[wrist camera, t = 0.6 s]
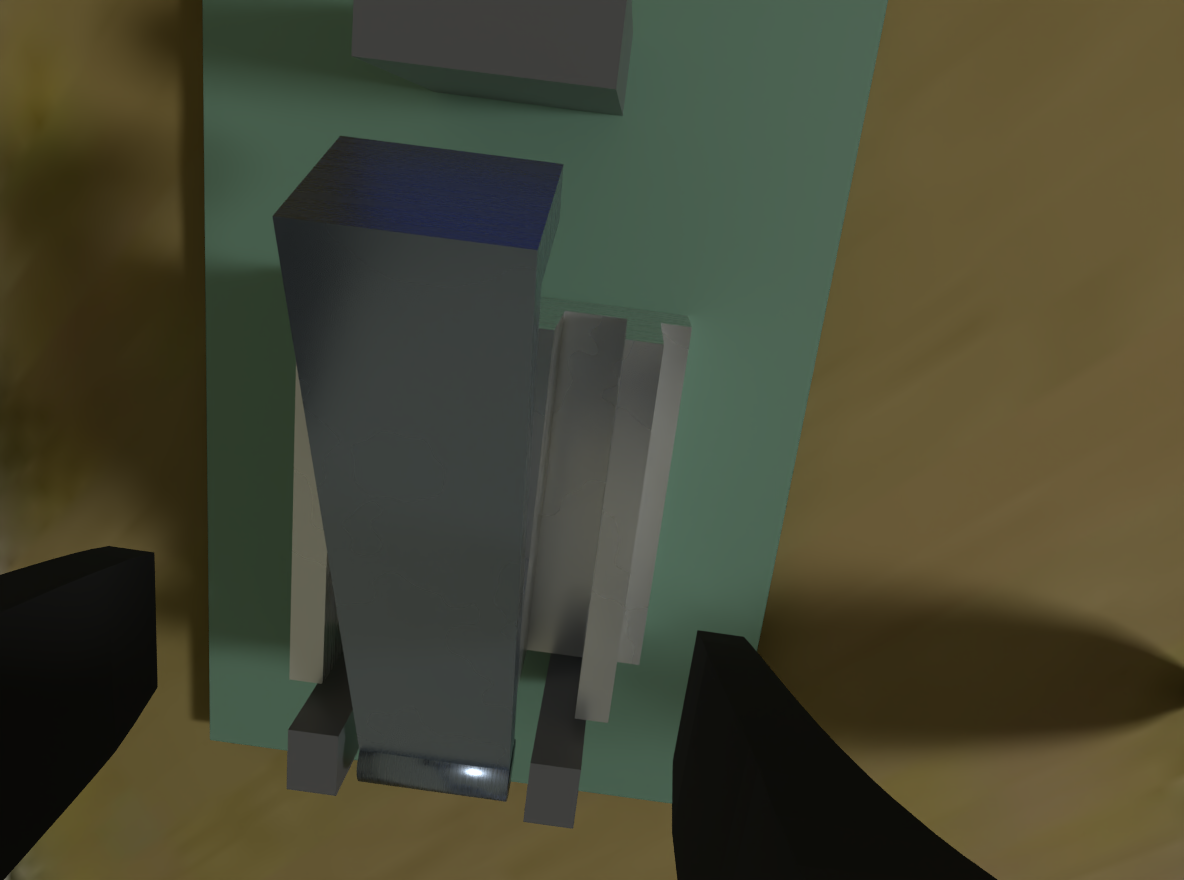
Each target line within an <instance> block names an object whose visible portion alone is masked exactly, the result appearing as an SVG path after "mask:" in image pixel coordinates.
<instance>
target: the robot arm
mask: <svg viewBox="0 0 1184 880" xmlns="http://www.w3.org/2000/svg"><path fill="white" fill-rule="evenodd" d="M156 689H157V645H156V604H155V563H154V553H153V552H146V551H139V550H132V549H125V548H118V547H111V546H107V547H101V548H96V549H90V550H86V551H82V552H78V553H74V554H70V555H66V556H62V557H59V558H55V559H52V560H48V561H45V562H41V563H38V564H35V565H31V566H28V567H25V568H21V569H18V570H15V571H12V572H8V573H5V574H2V575H0V880H4V879H5V878H6V877H7V875H8V874H9V873H10V872H11V871H12V870H13V869H14V867H15V866H16V865H17V864H18V863H19V862H20V861H21V860H22V858H23V857H24V856H25V855H26V854H27V853H28V852H29V850H30V849H31V848H32V847H33V846H34V845H35V844H36V843H37V841H38V840H39V839H40V838H41V837H42V836H43V835H44V833H45V832H46V831H47V830H48V829H49V828H50V827H51V826H52V824H53V823H54V822H55V821H56V820H57V819H58V818H59V816H60V815H61V814H62V813H63V812H64V811H65V810H66V809H67V807H68V806H69V805H70V804H71V803H72V802H73V801H74V799H75V798H76V797H77V796H78V795H79V794H80V792H81V791H82V790H83V789H84V788H85V787H86V785H87V784H88V783H89V782H90V781H91V780H92V779H93V777H94V776H95V775H96V774H97V773H98V772H99V770H100V769H101V768H102V767H103V766H104V765H105V763H106V762H107V761H108V760H109V759H110V757H111V756H112V755H113V754H114V753H115V751H116V750H117V748H118V747H119V745H120V744H121V743H122V741H123V740H124V738H125V737H126V735H127V734H128V732H129V731H130V729H131V728H132V727H133V725H134V724H135V722H136V720H137V719H138V717H139V716H140V714H141V713H142V711H143V709H144V708H145V706H146V705H147V703H148V701H149V700H150V698H151V697H152V695H153V693H154V692H155V690H156ZM672 835H673V844H674V853H675V862H676V871H677V879H678V880H997V879H996V878H994V877H993V876H992V875H990V874H989V873H987V872H986V871H985V870H983V869H982V868H980V867H979V866H977V865H976V864H975V863H973V862H972V861H970V860H969V859H968V858H966V857H965V856H963V855H962V854H961V853H959V852H958V851H957V850H956V849H954V848H953V847H952V846H950V845H949V844H948V843H946V842H945V841H944V840H943V839H941V838H940V837H939V836H937V835H936V834H935V833H934V832H932V831H931V830H930V829H929V828H928V827H926V826H925V825H924V824H923V823H922V822H921V821H919V820H918V819H917V818H916V817H915V816H913V815H912V814H911V813H910V812H909V811H907V810H906V809H905V808H904V807H903V806H901V805H900V804H899V803H898V802H897V801H896V800H894V799H893V798H892V797H891V796H890V795H889V794H888V793H886V792H885V791H884V790H883V789H882V788H881V787H880V786H879V785H878V784H877V783H876V782H874V781H873V780H872V779H871V778H870V777H869V776H868V775H867V774H866V773H865V772H864V771H863V770H862V769H861V768H860V767H859V766H858V765H857V764H856V763H855V762H854V761H853V760H852V759H851V758H850V757H849V756H848V755H847V754H846V753H845V752H844V751H843V750H842V749H841V748H840V747H839V746H838V745H837V744H836V743H835V742H834V741H833V740H832V739H831V738H830V736H829V735H828V734H827V733H826V732H825V731H824V730H823V729H822V728H821V727H820V726H819V725H818V724H817V722H816V721H815V720H814V719H813V718H812V717H811V716H810V715H809V713H808V712H807V711H806V710H805V709H804V708H803V707H802V705H801V704H800V703H799V702H798V701H797V700H796V699H795V697H794V696H793V695H792V694H791V693H790V691H789V690H788V689H787V688H786V687H785V685H784V684H783V683H782V682H781V681H780V679H779V678H778V677H777V676H776V675H775V673H774V672H773V671H772V670H771V668H770V667H769V666H768V665H767V664H766V662H765V661H764V660H763V659H762V657H761V656H760V655H759V654H758V653H757V651H756V650H755V649H754V648H753V646H752V645H751V644H750V643H749V642H748V641H747V640H746V638H745V637H742V636H735V635H728V634H721V633H714V632H707V631H700V630H697V635H696V641H695V646H694V651H693V656H692V662H691V667H690V672H689V677H688V683H687V688H686V693H685V699H684V704H683V709H682V714H681V720H680V725H679V730H678V735H677V741H676V746H675V751H674V757H673V769H672Z"/></svg>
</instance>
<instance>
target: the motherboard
mask: <svg viewBox="0 0 1184 880" xmlns="http://www.w3.org/2000/svg"><path fill="white" fill-rule="evenodd" d="M887 2H888V0H632V20H633V38H632V46H631V54H630V62H629V70H628V79H627V87H626V95H625V103H624V111H623V116H620V115H612V114H605V113H597V112H589V111H581V110H573V109H565V108H557V107H549V106H541V105H533V104H525V103H517V102H509V101H502V100H494V99H486V98H478V97H470V96H462V95H454V94H446V93H438V92H434V91H432V90H429V89H427V88H425V87H422V86H420V85H418V84H415V83H413V82H411V81H408V80H406V79H404V78H401V77H399V76H397V75H394V74H392V73H390V72H387V71H385V70H383V69H380V68H378V67H376V66H373V65H371V64H369V63H366V62H364V61H362V60H359V59H357V58H355V57H352V56H351V54H352V27H353V0H203V96H204V193H205V291H206V389H207V487H208V584H209V682H210V740H215V741H222V742H230V743H237V744H244V745H251V746H259V747H266V748H273V749H280V750H288V729H289V727H290V726H291V724H292V723H293V721H294V720H295V718H296V716H297V715H298V713H299V712H300V710H301V709H302V707H303V705H304V704H305V702H306V701H307V699H308V698H309V696H310V694H311V693H312V691H313V690H314V688H315V687H316V685H317V683H312V682H304V681H297V680H290V679H289V673H290V625H291V577H292V530H293V482H294V434H295V387H296V358H295V352H294V346H293V340H292V334H291V328H290V322H289V315H288V309H287V303H286V297H285V291H284V285H283V279H282V273H281V266H280V260H279V254H278V248H277V242H276V236H275V230H274V223H273V217H272V216H273V215H274V214H275V212H276V211H277V210H278V209H279V208H280V206H281V205H282V204H283V203H284V202H285V200H286V199H287V198H288V197H289V196H290V195H291V193H292V192H293V191H294V190H295V189H296V187H297V186H298V185H299V184H300V183H301V182H302V180H303V179H304V178H305V177H306V176H307V174H308V173H309V172H310V171H311V170H312V169H313V167H314V166H315V165H316V164H317V163H318V161H319V160H320V159H321V158H322V157H323V156H324V154H325V153H326V152H327V151H328V150H329V148H330V147H331V146H332V145H333V144H334V143H335V141H336V140H337V139H338V138H339V137H340V136H347V137H355V138H363V139H371V140H378V141H386V142H394V143H402V144H410V145H418V146H426V147H434V148H441V149H449V150H457V151H465V152H473V153H481V154H489V155H496V156H504V157H512V158H520V159H528V160H536V161H544V162H551V163H559V164H564V166H563V180H562V194H561V208H560V220H559V224H558V228H557V231H556V235H555V238H554V242H553V246H552V249H551V253H550V256H549V260H548V264H547V267H546V271H545V274H544V278H543V282H542V285H541V297H548V298H555V299H563V300H571V301H579V302H586V303H594V304H602V305H609V306H617V307H625V308H633V309H640V310H648V311H656V312H664V313H671V314H679V315H687V316H688V317H689V320H690V323H691V326H692V331H691V337H690V344H689V350H688V357H687V363H686V369H685V376H684V382H683V388H682V395H681V401H680V408H679V414H678V420H677V427H676V433H675V440H674V446H673V452H672V459H671V465H670V471H669V478H668V484H667V491H666V497H665V503H664V510H663V516H662V522H661V529H660V535H659V542H658V548H657V554H656V561H655V567H654V574H653V580H652V586H651V593H650V599H649V605H648V612H647V618H646V625H645V631H644V637H643V644H642V650H641V656H640V663H639V665H635V664H628V663H621V662H617V666H616V673H615V679H614V686H613V693H612V700H611V706H610V713H609V720H608V723H604V722H597V721H590V720H586V726H585V736H584V746H583V756H582V766H581V775H580V782H579V789H578V791H585V792H592V793H599V794H607V795H614V796H621V797H628V798H636V799H643V800H650V801H657V802H665V803H672V769H673V757H674V751H675V746H676V741H677V735H678V730H679V725H680V720H681V714H682V709H683V704H684V699H685V693H686V688H687V683H688V677H689V672H690V667H691V662H692V656H693V651H694V646H695V641H696V635H697V630H700V631H707V632H714V633H721V634H728V635H735V636H742V637H745V638H746V640H747V641H748V642H749V643H750V644H751V645H752V646H753V648H754V649H755V650H756V651H757V648H758V643H759V638H760V633H761V628H762V623H763V618H764V613H765V608H766V603H767V598H768V593H769V589H770V584H771V579H772V574H773V569H774V564H775V559H776V554H777V549H778V544H779V539H780V534H781V529H782V524H783V519H784V514H785V509H786V504H787V499H788V494H789V489H790V484H791V479H792V474H793V469H794V464H795V459H796V454H797V449H798V444H799V440H800V435H801V430H802V425H803V420H804V415H805V410H806V405H807V400H808V395H809V390H810V385H811V380H812V375H813V370H814V365H815V360H816V355H817V350H818V345H819V340H820V335H821V330H822V325H823V320H824V315H825V310H826V305H827V300H828V295H829V291H830V286H831V281H832V276H833V271H834V266H835V261H836V256H837V251H838V246H839V241H840V236H841V231H842V226H843V221H844V216H845V211H846V206H847V201H848V196H849V191H850V186H851V181H852V176H853V171H854V166H855V161H856V156H857V151H858V146H859V142H860V137H861V132H862V127H863V122H864V117H865V112H866V107H867V102H868V97H869V92H870V87H871V82H872V77H873V72H874V67H875V62H876V57H877V52H878V47H879V42H880V37H881V32H882V27H883V22H884V17H885V12H886V7H887ZM550 655H551V653H547V652H540V651H532V650H527V652H526V656H525V660H524V664H523V668H522V672H521V677H520V681H519V685H518V689H517V705H516V721H515V738H514V739H516V747H515V756H514V763H513V770H512V777H511V781H512V782H520V783H527V784H528V779H529V770H530V762H531V757H532V752H533V746H534V741H535V736H536V730H537V725H538V719H539V714H540V709H541V703H542V698H543V693H544V687H545V682H546V677H547V671H548V666H549V660H550ZM358 756H359V750H358V752H357V754H356V756H355V758H354V760H358Z"/></svg>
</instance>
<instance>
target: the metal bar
mask: <svg viewBox="0 0 1184 880" xmlns="http://www.w3.org/2000/svg"><path fill="white" fill-rule="evenodd" d="M563 166H564V164H559V163H551V162H544V161H536V160H528V159H520V158H512V157H504V156H496V155H489V154H481V153H473V152H465V151H457V150H449V149H441V148H434V147H426V146H418V145H410V144H402V143H394V142H386V141H378V140H371V139H363V138H355V137H347V136H340V137H339V138H338V139H337V140H336V141H335V143H334V144H333V145H332V146H331V147H330V148H329V150H328V151H327V152H326V153H325V154H324V156H323V157H322V158H321V159H320V160H319V161H318V163H317V164H316V165H315V166H314V167H313V169H312V170H311V171H310V172H309V173H308V174H307V176H306V177H305V178H304V179H303V180H302V182H301V183H300V184H299V185H298V186H297V187H296V189H295V190H294V191H293V192H292V193H291V195H290V196H289V197H288V198H287V199H286V200H285V202H284V203H283V204H282V205H281V206H280V208H279V209H278V210H277V211H276V212H275V214H274V215H273V216H272V217H273V223H274V230H275V236H276V242H277V248H278V254H279V260H280V266H281V273H282V279H283V285H284V291H285V297H286V303H287V309H288V315H289V322H290V328H291V334H292V340H293V346H294V352H295V358H296V364H297V371H298V377H299V383H300V389H301V395H302V401H303V407H304V413H305V420H306V426H307V432H308V438H309V444H310V450H311V456H312V462H313V469H314V475H315V481H316V487H317V493H318V499H319V505H320V511H321V518H322V524H323V530H324V536H325V542H326V548H327V554H328V560H329V567H330V573H331V579H332V585H333V591H334V597H335V603H336V609H337V616H338V622H339V628H340V634H341V640H342V646H343V652H344V658H345V665H346V671H347V677H348V683H349V689H350V695H351V701H352V708H353V714H354V720H355V726H356V732H357V738H358V744H359V756H358V762H357V779H358V781H361V782H368V783H375V784H382V785H390V786H397V787H404V788H411V789H419V790H426V791H433V792H440V793H448V794H455V795H462V796H469V797H477V798H484V799H491V800H498V801H505V802H506V801H507V798H508V793H509V788H510V783H511V777H512V770H513V763H514V756H515V747H516V739H514V738H515V721H516V705H517V688H518V671H519V654H520V637H521V621H522V604H523V587H524V570H525V553H526V537H527V520H528V503H529V486H530V469H531V453H532V436H533V419H534V402H535V385H536V369H537V352H538V335H539V318H540V301H541V285H542V282H543V278H544V274H545V271H546V267H547V264H548V260H549V256H550V253H551V249H552V246H553V242H554V238H555V235H556V231H557V228H558V224H559V220H560V208H561V194H562V180H563Z"/></svg>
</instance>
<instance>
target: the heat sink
mask: <svg viewBox="0 0 1184 880" xmlns="http://www.w3.org/2000/svg"><path fill="white" fill-rule="evenodd" d="M691 331H692V326H691V323H690V320H689V317H688V316H687V315H679V314H671V313H664V312H656V311H648V310H640V309H633V308H625V307H617V306H609V305H602V304H594V303H586V302H579V301H571V300H563V299H555V298H548V297H541V301H540V318H539V335H538V352H537V369H536V385H535V402H534V419H533V436H532V453H531V469H530V486H529V503H528V520H527V537H526V553H525V570H524V587H523V604H522V621H521V637H520V654H519V671H518V685H519V681H520V677H521V672H522V668H523V664H524V660H525V656H526V652H527V650H532V651H540V652H547V653H554V654H562V655H569V656H576V657H582V661H581V669H580V677H579V686H578V694H577V703H576V711H575V719H582V720H590V721H597V722H604V723H608V720H609V713H610V706H611V700H612V693H613V686H614V679H615V673H616V666H617V662H621V663H628V664H635V665H639V663H640V656H641V650H642V644H643V637H644V631H645V625H646V618H647V612H648V605H649V599H650V593H651V586H652V580H653V574H654V567H655V561H656V554H657V548H658V542H659V535H660V529H661V522H662V516H663V510H664V503H665V497H666V491H667V484H668V478H669V471H670V465H671V459H672V452H673V446H674V440H675V433H676V427H677V420H678V414H679V408H680V401H681V395H682V388H683V382H684V376H685V369H686V363H687V357H688V350H689V344H690V337H691ZM342 652H343V646H342V640H341V634H340V628H339V622H338V616H337V609H336V603H335V597H334V591H333V585H332V579H331V573H330V567H329V560H328V554H327V548H326V542H325V536H324V530H323V524H322V518H321V511H320V505H319V499H318V493H317V487H316V481H315V475H314V469H313V462H312V456H311V450H310V444H309V438H308V432H307V426H306V420H305V413H304V407H303V401H302V395H301V389H300V383H299V377H298V371H297V364H296V387H295V434H294V482H293V530H292V577H291V625H290V673H289V679H290V680H297V681H304V682H312V683H319V684H323V682H324V681H325V679H326V678H327V676H328V674H329V673H330V671H331V670H332V668H333V666H334V665H335V663H336V662H337V660H338V658H339V657H340V655H341V654H342ZM517 689H518V688H517Z"/></svg>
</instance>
